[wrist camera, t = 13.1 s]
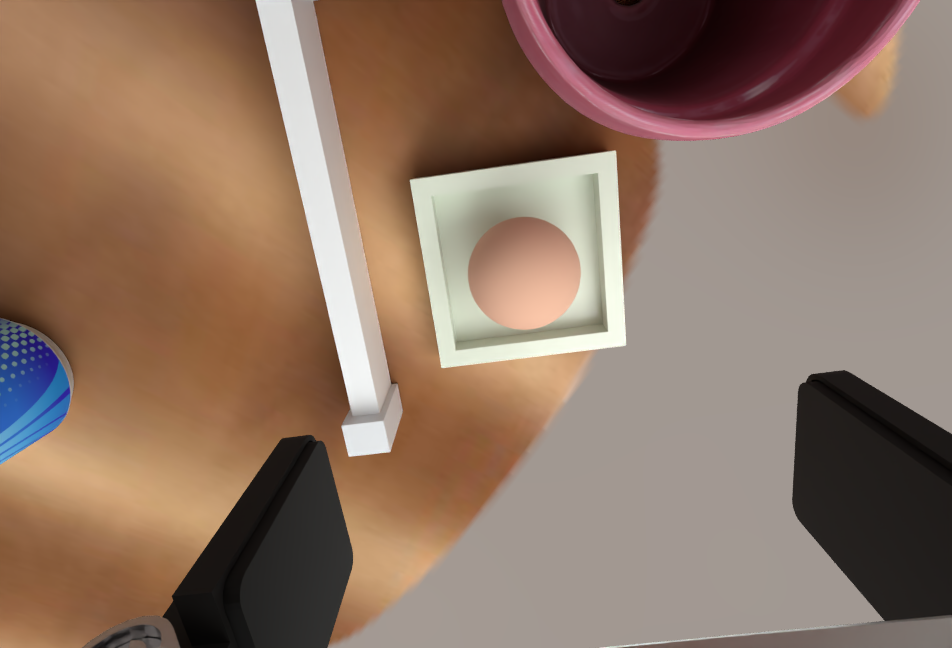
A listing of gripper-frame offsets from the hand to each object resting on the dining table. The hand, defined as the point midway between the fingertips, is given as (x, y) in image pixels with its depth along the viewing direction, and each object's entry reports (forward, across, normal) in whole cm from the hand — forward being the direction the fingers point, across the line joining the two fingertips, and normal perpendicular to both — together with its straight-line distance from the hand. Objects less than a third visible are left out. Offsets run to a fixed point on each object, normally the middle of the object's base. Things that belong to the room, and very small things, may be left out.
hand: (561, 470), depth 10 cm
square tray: (+22, -1, 0) cm, 22 cm away
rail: (+22, +9, -4) cm, 24 cm away
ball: (+22, -1, 0) cm, 22 cm away
